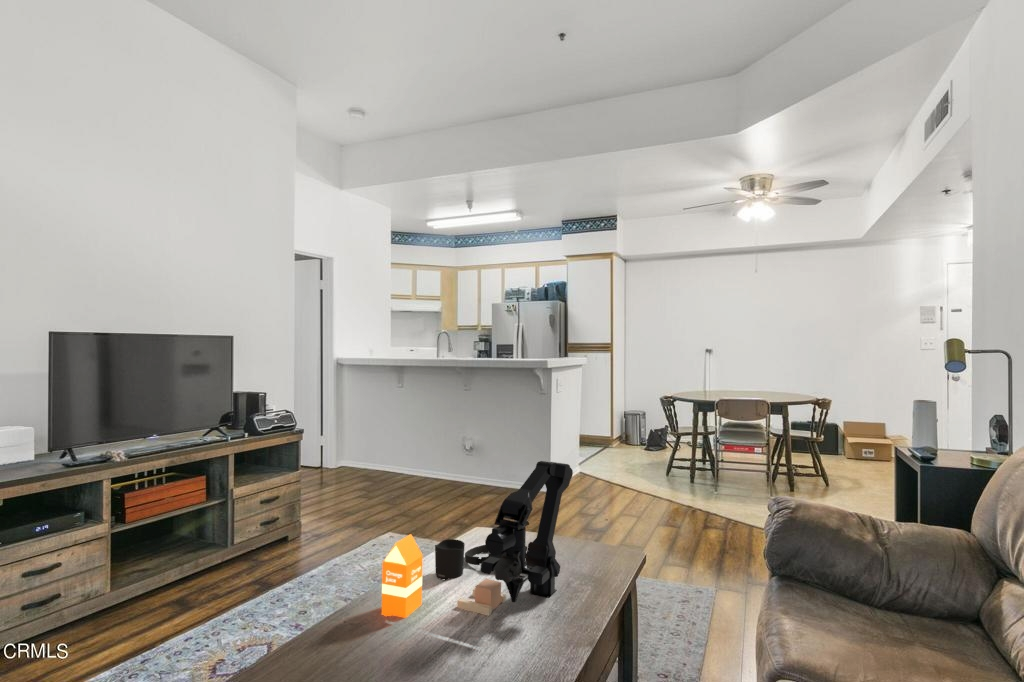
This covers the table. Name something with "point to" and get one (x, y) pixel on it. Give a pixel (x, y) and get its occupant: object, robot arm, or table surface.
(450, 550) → the pen holder
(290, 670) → the table surface
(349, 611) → the table surface
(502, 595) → the beige railed tray
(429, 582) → the table surface
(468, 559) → the headphones
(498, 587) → the block
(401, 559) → the orange juice
